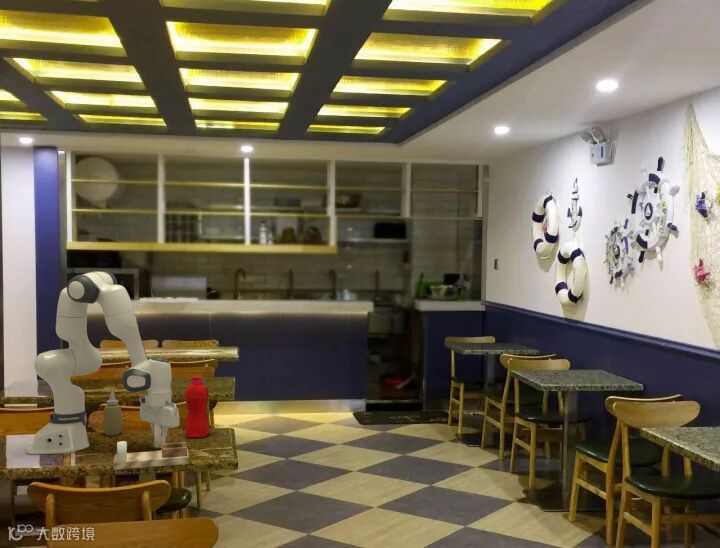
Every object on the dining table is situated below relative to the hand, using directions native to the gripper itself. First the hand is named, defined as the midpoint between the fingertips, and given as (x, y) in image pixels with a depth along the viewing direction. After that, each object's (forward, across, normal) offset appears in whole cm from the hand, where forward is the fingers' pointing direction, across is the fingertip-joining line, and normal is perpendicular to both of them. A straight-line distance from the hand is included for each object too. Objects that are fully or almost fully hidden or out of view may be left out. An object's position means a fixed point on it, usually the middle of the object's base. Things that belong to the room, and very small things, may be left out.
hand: (159, 435), depth 274 cm
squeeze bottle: (+7, +39, -5) cm, 40 cm away
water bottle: (+6, +7, -25) cm, 27 cm away
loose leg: (+4, 0, 0) cm, 4 cm away
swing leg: (+3, -5, +20) cm, 21 cm away
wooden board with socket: (+6, -10, +11) cm, 16 cm away
